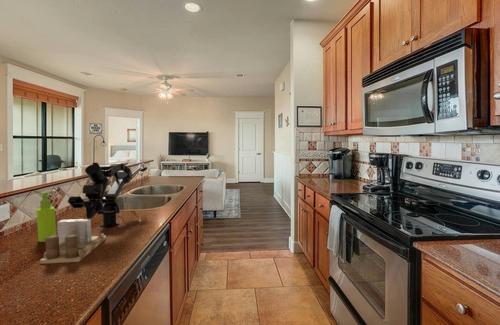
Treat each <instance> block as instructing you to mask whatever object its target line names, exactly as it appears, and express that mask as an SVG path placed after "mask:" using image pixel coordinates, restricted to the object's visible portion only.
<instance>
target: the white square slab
mask: <svg viewBox="0 0 500 325" xmlns="http://www.w3.org/2000/svg"><path fill="white" fill-rule="evenodd" d="M56 228H57V235H58V236H59V249H65V237H66V236H69V235H78V248H84V247H86V246H87V245H88V244H90V243H91V242H92V237H91V236H92V218H91V219H87V218H76V219H75V218H73V219H71V218H70V219H61V220H59V221H57V227H56Z"/></svg>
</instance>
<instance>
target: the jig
mask: <svg viewBox="0 0 500 325" xmlns="http://www.w3.org/2000/svg"><path fill="white" fill-rule="evenodd" d="M91 237H92V242H91V243H90V244H88V245H87V246H86V247H84V248H78V235H69V236H66V237H65V249H59V236H58V234H56V235H54V236H49V237H46V238H45V240H46V242H45V252H43V258H41V259H39V264H42V265H43V264H46V265H47V264H57V263H58V264H60V263H61V264H62V263H78V262H80V261H82V260H83V259H84V258H85V257H86V256H88V254H90V253H91V252H92V251H93V250H95V249H96V248H97V247H98V246H99V245H101V243H103V242H104V241H105V240H106V239H107V235H105V233H101V234H100V235H99V236H98V235H91Z"/></svg>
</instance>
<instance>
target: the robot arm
mask: <svg viewBox="0 0 500 325" xmlns="http://www.w3.org/2000/svg"><path fill="white" fill-rule="evenodd" d="M84 171H85V173H86V175H87V177H88V178H89V180H90V181H91V182H93V183H92V184H84V185H82V191H81V193H82V194H84V195H85V197H84V198H82V197H81V196H80V195H76V196H75V195H73V196H72V195H71V196H68V199H67V203H68V204H69V205H70V206H71V207H72V209H82V208H83V207H84V208H85V210H86V211H85V213H86V219H91V220H92V218H93V217H94V216H95V215H96V214H97V215H102V223H101V224H99V227H103V228H105V229H106V228H111V227H114V226H115V227H116V226H119V225H120V223H119V222H117V214H119V213H120V211H121V206H120V201H119V199H118V198H119V195H120V194H121V191H122V189H123V188H124V186H125V184H128V183H130V182H131V180H132V179H133V172H132V170H131V168H129V167H127V165H126V164H125V163H123V162H115V163H112V164H105V165H104V164H103V165H101V164H99V162H93V163H92V164H90V165H88V166H87V167H85V169H84ZM113 177H114V179H115V181H114V182H113V183H112V186H111V187H110V189H109V190H108V192H107V193H106V190H107V188H108V186H110V182H109V181H110V179H108V178H113Z"/></svg>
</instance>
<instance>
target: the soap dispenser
mask: <svg viewBox="0 0 500 325" xmlns="http://www.w3.org/2000/svg"><path fill="white" fill-rule="evenodd" d="M56 193H57V191H51V190H49V191H43V192H39V195H41V196H42V199H41V200H40V201H39V202H40V203H39V204H40V207H39V208H37V209H36V219H37V220H36V221H37V222H36V223H37V238H38V242H40V243H46V240H45V238H46V237H49V236H54V235H57V227H56V210H55V209H56V208H55V207H54V206H52V204H51V201H52V200H51V199H49V194H56Z"/></svg>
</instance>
